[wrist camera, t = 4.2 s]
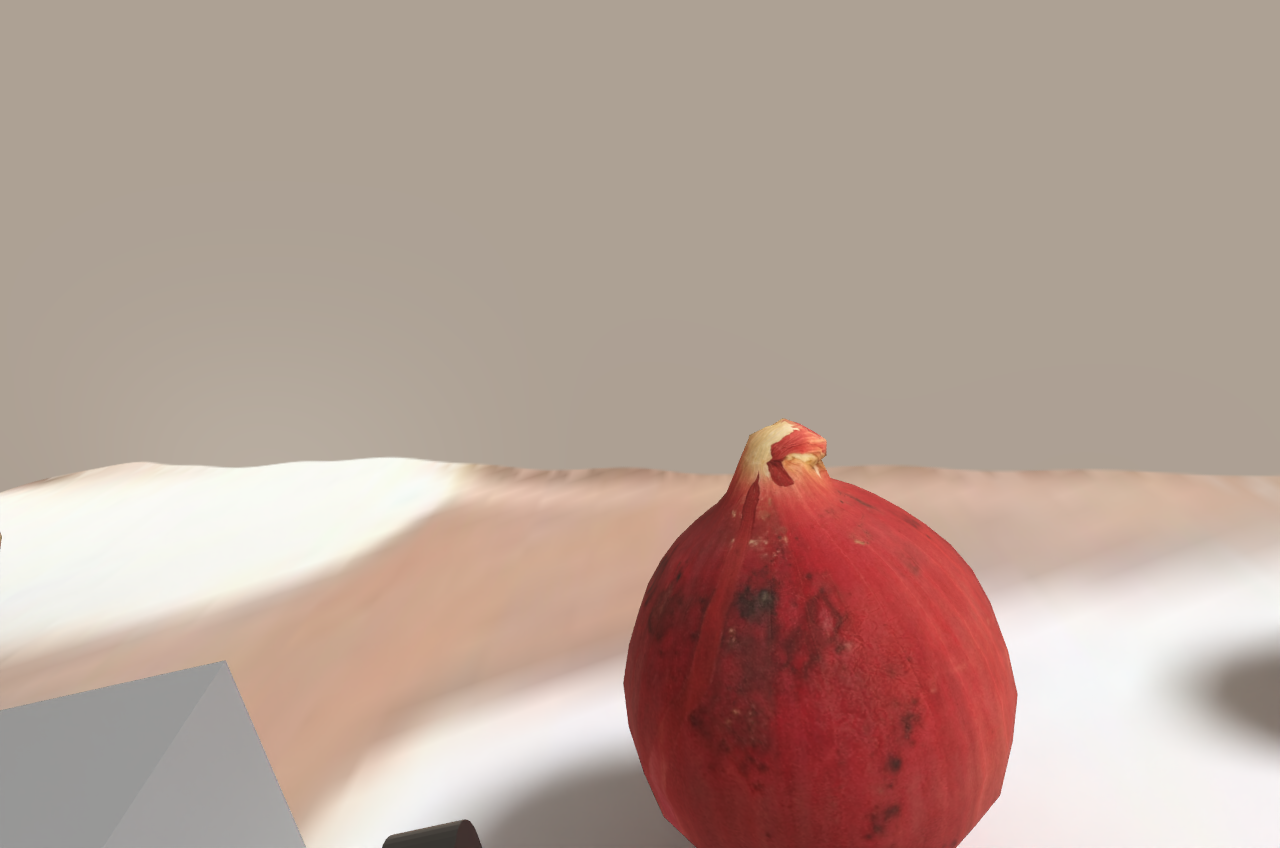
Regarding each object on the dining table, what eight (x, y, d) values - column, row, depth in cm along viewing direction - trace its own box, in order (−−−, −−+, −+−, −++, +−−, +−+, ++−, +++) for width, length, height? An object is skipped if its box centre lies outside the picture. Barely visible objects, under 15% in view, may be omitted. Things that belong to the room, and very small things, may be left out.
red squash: (997, 1100, 12) (926, 549, 9) (616, 967, 15) (481, 523, 12) (1055, 782, 16) (1019, 352, 14) (755, 729, 19) (678, 369, 17)
